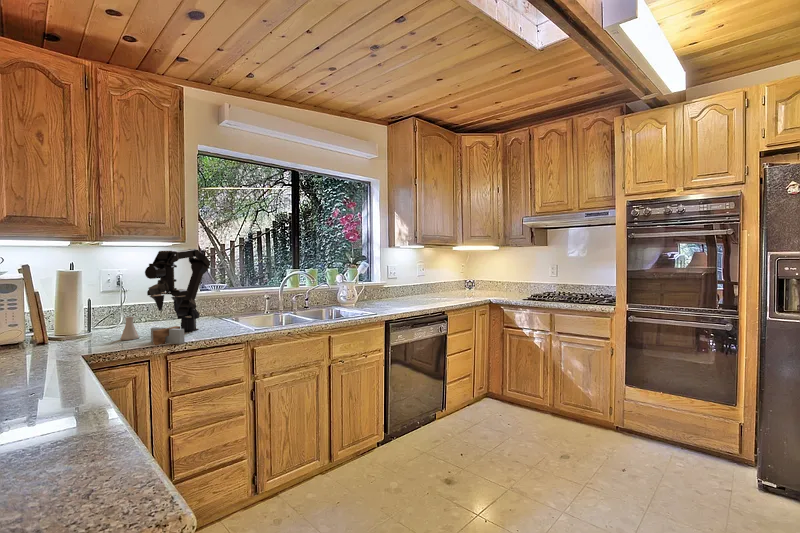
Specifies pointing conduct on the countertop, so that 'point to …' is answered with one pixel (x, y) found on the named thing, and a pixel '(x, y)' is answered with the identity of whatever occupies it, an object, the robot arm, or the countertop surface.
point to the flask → (129, 330)
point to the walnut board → (161, 335)
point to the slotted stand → (171, 335)
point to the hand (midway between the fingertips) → (168, 310)
